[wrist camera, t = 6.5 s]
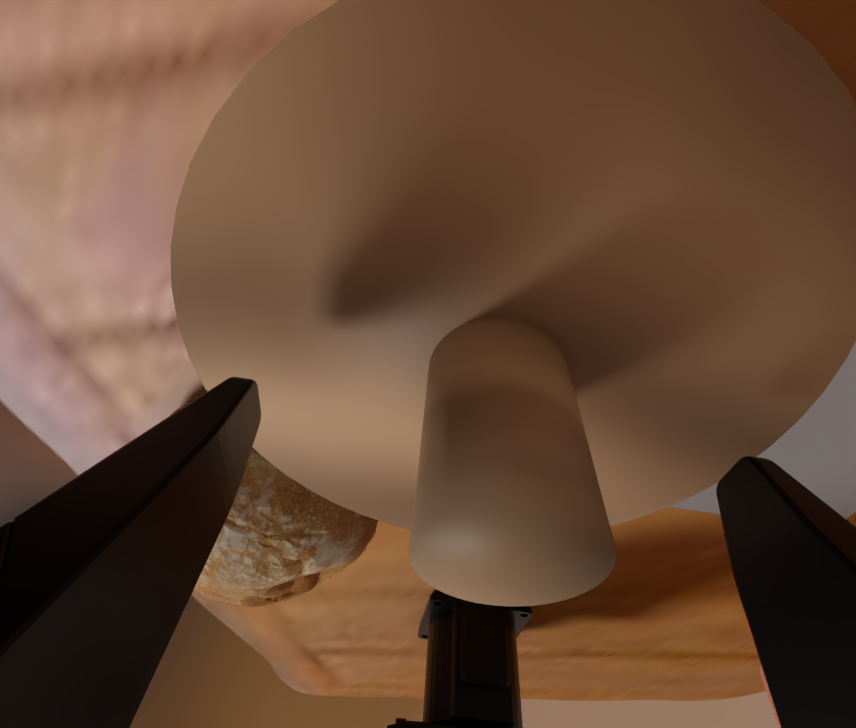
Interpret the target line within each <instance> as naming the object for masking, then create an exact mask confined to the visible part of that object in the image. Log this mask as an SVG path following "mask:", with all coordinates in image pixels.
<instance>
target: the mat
mask: <svg viewBox="0 0 856 728" xmlns="http://www.w3.org/2000/svg"><path fill="white" fill-rule="evenodd" d="M757 457H759V458H765V459H769V460H771V461H773V462H774V463H776V464H777V465H778V466H779V467H781V468H782V469H783V470H785V471H786V472H787V473H788V474H790V475H791V476H792V477H793V478H795V479H796V480H797V481H798V482H800V483H801V484H802V485H803V486H805V487H806V488H807V489H808V490H810V491H811V492H812V493H813V494H815V495H816V496H817V497H818V498H820V499H821V500H822V501H824V502H825V503H826V504H827V505H829V506H830V507H831V508H832V509H834V510H835V511H836V512H837V513H839V514H840V515H841V516H842V517H844V518H845V519H847V518H848V517H850V516H851V515H852V514H854V513H855V512H856V341H855V343H854V345H853V347H852V349H851V351H850V353H849V355H848V357H847V359H846V360H845V362H844V363H843V365H842V366H841V368H840V369H839V371H838V372H837V374H836V375H835V376H834V378H833V379H832V381H831V382H830V384H829V385H828V387H827V388H826V390H825V391H824V392H823V393H822V395H821V396H820V397H819V398H818V399H817V400H816V401H815V403H814V404H813V405H812V406H811V407H810V408H809V409H808V411H807V412H806V413H805V414H804V415H803V416H802V417H801V418H800V420H799V421H798V422H797V423H796V424H794V425H793V426H792V427H791V428H790V429H789V430H788V431H787V432H786V433H785V434H784V435H782V436H781V437H780V438H779V439H778V440H777V441H776V442H775V443H774V444H773V445H771V446H770V447H769V448H768V449H766V450H765V451H764V452H762V453H761V454H760V455H758V456H757ZM717 484H718V483H716V484H715V485H713V486H711V487H709V488H707V489H705V490H703V491H701V492H699V493H697V494H695V495H693V496H691V497H689V498H688V499H686V500H684V501H682V502H679V503H677V504H674V505H672V506H669V507H673V508H680V509H686V510H693V511H700V512H706V513H713V514H720V510H719V505H718V500H717V495H716V488H717Z"/></svg>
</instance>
